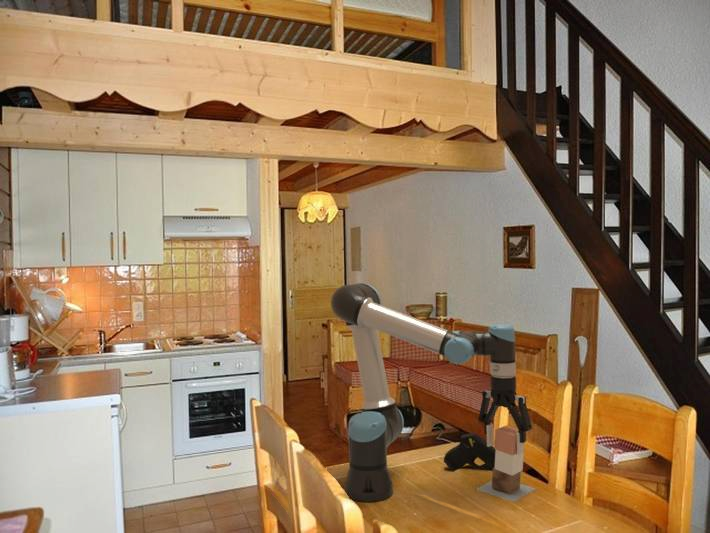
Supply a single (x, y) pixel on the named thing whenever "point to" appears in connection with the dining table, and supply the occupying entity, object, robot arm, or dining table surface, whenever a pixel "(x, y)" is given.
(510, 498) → the board
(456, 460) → the taser
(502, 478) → the brick
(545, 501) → the dining table surface
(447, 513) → the dining table surface
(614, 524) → the dining table surface
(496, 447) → the brick
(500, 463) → the beige cube
